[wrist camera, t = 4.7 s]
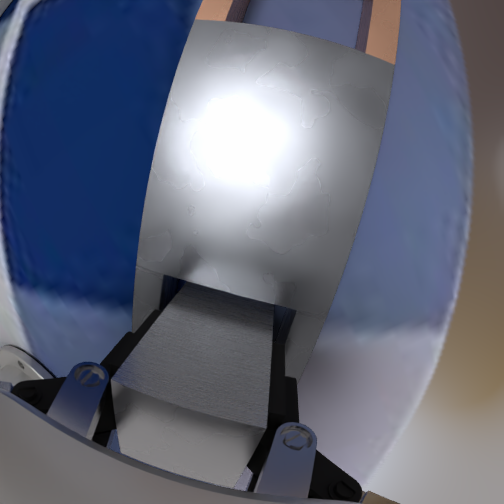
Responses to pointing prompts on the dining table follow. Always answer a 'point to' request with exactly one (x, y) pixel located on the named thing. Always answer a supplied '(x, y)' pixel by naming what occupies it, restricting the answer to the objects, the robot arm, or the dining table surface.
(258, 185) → the rail
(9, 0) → the supplement box
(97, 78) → the dining table surface
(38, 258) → the dining table surface
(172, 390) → the steel peg
